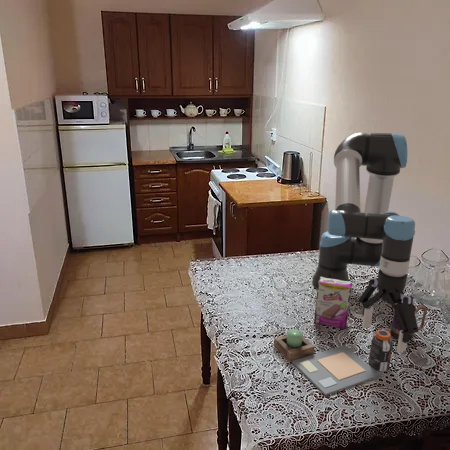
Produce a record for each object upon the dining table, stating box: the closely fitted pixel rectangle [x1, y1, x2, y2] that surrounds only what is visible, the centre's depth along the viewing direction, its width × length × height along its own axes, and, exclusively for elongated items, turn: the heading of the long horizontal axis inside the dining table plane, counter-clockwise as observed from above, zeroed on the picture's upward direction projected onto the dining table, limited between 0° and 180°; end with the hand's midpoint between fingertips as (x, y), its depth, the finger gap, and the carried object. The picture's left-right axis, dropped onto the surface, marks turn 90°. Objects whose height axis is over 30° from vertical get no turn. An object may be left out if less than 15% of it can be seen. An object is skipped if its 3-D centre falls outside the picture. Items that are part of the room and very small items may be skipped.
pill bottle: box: [367, 329, 394, 372], centre depth 127 cm, size 6×6×11 cm
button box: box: [273, 334, 316, 363], centre depth 135 cm, size 9×9×3 cm
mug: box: [389, 303, 428, 341], centre depth 142 cm, size 10×7×12 cm
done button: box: [286, 328, 304, 350], centre depth 134 cm, size 5×5×4 cm
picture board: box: [291, 344, 382, 397], centre depth 127 cm, size 20×16×1 cm
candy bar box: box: [313, 277, 353, 330], centre depth 148 cm, size 11×5×16 cm, turn 71°
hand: (382, 338), depth 125 cm, fingers open, 13 cm apart
